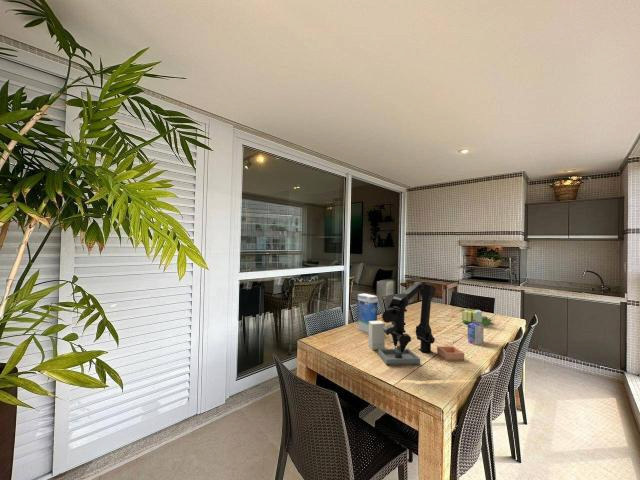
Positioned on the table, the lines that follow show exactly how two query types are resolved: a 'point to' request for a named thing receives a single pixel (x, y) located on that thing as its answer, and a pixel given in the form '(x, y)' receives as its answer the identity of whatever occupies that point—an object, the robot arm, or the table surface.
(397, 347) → the battery cell
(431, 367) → the table surface
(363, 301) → the blue white lidded canister
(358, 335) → the table surface
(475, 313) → the toy landscape diorama
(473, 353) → the table surface
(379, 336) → the skincare box
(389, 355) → the tray
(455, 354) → the bin
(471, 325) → the ink cartridge box
